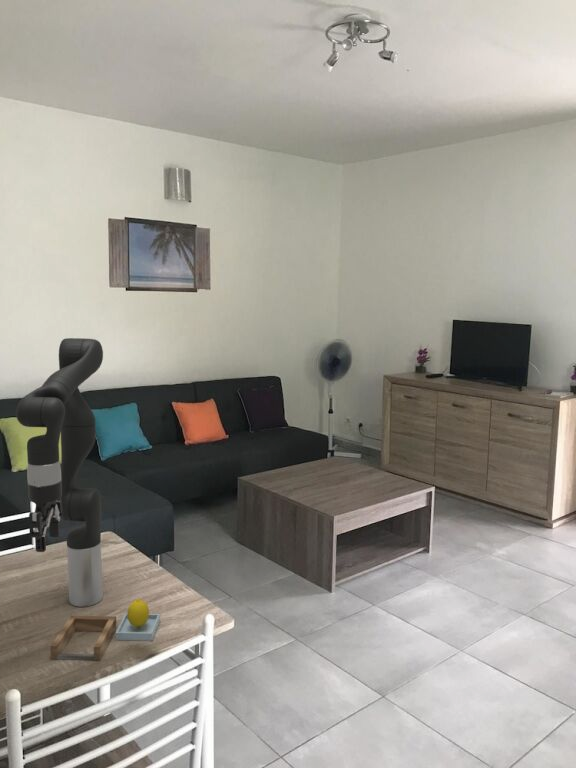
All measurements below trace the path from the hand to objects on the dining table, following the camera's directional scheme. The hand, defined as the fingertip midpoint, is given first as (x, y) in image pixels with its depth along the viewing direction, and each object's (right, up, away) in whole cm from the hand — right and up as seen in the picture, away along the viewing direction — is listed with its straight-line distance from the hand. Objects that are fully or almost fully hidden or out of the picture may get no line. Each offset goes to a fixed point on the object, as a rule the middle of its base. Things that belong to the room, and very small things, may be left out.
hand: (47, 543), depth 153 cm
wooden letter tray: (+7, -27, +8) cm, 29 cm away
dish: (+19, -26, +14) cm, 35 cm away
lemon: (+19, -26, +14) cm, 35 cm away
